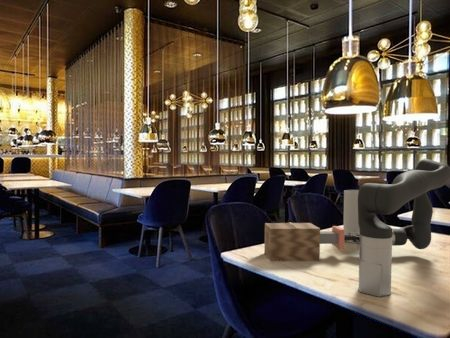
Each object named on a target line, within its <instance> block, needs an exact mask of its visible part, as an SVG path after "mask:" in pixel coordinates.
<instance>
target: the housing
mask: <svg viewBox="0 0 450 338" xmlns="http://www.w3.org/2000/svg"><path fill="white" fill-rule="evenodd" d="M320 231H321V228H320V227H318V226H316V225H314V224H313V223H312V222H290V221H289V222H274V223H273V222H265V223H264V255H265V256H266V258H267V259H268V260H269V262H320V258H321V257H320V254H321V252H320V251H321V244H320Z"/></svg>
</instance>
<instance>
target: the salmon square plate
mask: <svg viewBox="0 0 450 338" xmlns="http://www.w3.org/2000/svg"><path fill="white" fill-rule="evenodd" d="M344 234H345V230H344V229H343V228H341V227H340V226H337V225H332V227H331V231H330V230H328V231H322V230H320V245H323V244H324V245H325V244H326V245H329V244H330V245H332V246H333V247H335V248H337V249H338V250H345V240H344Z"/></svg>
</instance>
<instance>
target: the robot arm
mask: <svg viewBox="0 0 450 338" xmlns="http://www.w3.org/2000/svg"><path fill="white" fill-rule="evenodd" d="M449 180H450V166H449V164H446V163H443V162H440V161H435V160H433V159H429V158H428V159H427V158H422V159H421V160H419V161H418V163H417V164H416V166H415V169H411V170H407V171H404V172H402V173H400V174H398V175H397V176H395V178H394V179H393V181H392V183H391V184H388V183H374V182H366V183H363V184H362V185H361V186H360V187H359V189H358V190H359V192H358V224H359V228H360V232H357V233H356V231H354V232H350V233H348V234H344V241H345V240H350V241H353V242H358V243H360V244H359V247H358V248H359V249H358V251H359V252H358V253H359V254H358V255H359V256H358V291H359V292H360V293H363V294H366V295H370V296H374V297H379V298H381V297H386V296H389V295H390V294H392V267H393V266H392V263H393V261H392V257H393V246H394V247H396V246H399V247H400V246H404V245H406V244H407V242H408V241H409V242H410V243H411V245H412V246H413V247H414V248H416V249H418V250H425V249H427V248H428V247H429V246H430V244H431V241H432V227H431V222H432V219H433V212H434V209H433V208H434V207H433V204H432V203H431V200H430V198H429V195H428V193H427V192H429V191H432V190H435V189H439V188H442V187H444V186H445V185H446V184H447V183H448V181H449ZM412 200H413V209H412V213H411V214H412V215H411V219H410V222H411V225H406V226H403V227H400V228H392V226H390V225H388V224H386V223H385V222H383V221H381V220H380V219H379V217H378V216H377V215H385V216H386V215H393V214H395V213H396V212H397V211H398V210H400V209H401V208H402V207H403V206H405V204H407V203H409V202H411V201H412Z"/></svg>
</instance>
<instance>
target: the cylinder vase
mask: <svg viewBox="0 0 450 338" xmlns="http://www.w3.org/2000/svg"><path fill="white" fill-rule="evenodd" d="M358 192H359V189H347V190H346V189H345V190H343V228H342V229H344V230H345V234H348V233H350V232H354V231H356V233H357V232H360V228H359V224H358ZM344 242H346V243H351V244H359V245H360V243H358V242H353V241H350V240H344Z"/></svg>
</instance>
